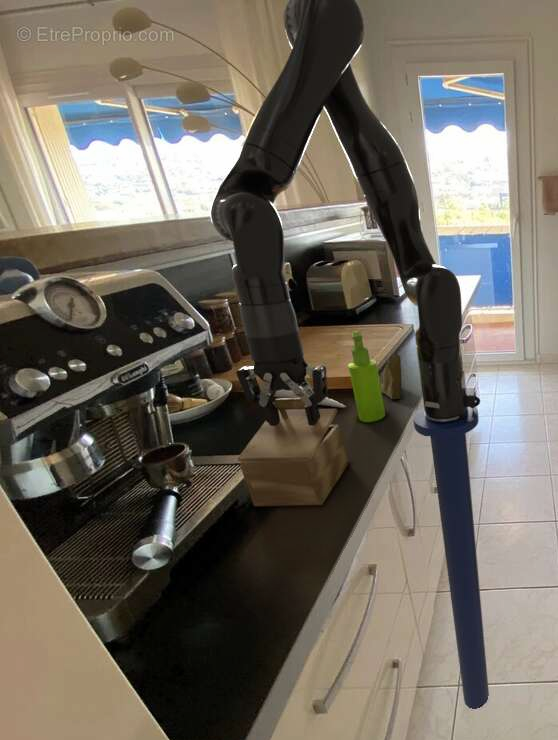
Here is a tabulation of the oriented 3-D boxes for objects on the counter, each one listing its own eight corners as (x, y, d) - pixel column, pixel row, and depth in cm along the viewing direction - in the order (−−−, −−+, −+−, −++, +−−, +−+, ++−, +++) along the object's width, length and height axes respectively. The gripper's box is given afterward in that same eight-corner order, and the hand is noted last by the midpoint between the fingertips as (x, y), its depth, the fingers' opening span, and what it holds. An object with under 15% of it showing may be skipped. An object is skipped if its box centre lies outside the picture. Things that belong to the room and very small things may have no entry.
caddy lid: (275, 413, 82) (266, 391, 79) (337, 411, 82) (330, 390, 79) (238, 462, 71) (226, 439, 68) (310, 460, 71) (301, 437, 69)
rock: (409, 392, 111) (419, 372, 119) (383, 368, 107) (395, 350, 116) (380, 414, 115) (391, 393, 123) (354, 391, 111) (368, 372, 120)
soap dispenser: (384, 407, 109) (370, 327, 100) (386, 419, 103) (371, 336, 95) (358, 411, 107) (342, 330, 99) (359, 424, 101) (342, 339, 93)
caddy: (288, 465, 86) (277, 425, 82) (348, 464, 86) (339, 424, 83) (253, 506, 75) (238, 462, 71) (322, 504, 75) (310, 461, 71)
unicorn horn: (334, 415, 105) (330, 396, 103) (267, 398, 115) (262, 381, 113) (349, 407, 109) (345, 389, 107) (283, 391, 119) (279, 374, 117)
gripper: (326, 323, 75) (343, 414, 81) (240, 324, 75) (264, 415, 81) (306, 335, 68) (326, 433, 74) (211, 335, 68) (240, 434, 74)
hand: (294, 423), depth 78 cm, fingers closed on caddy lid, 6 cm apart
